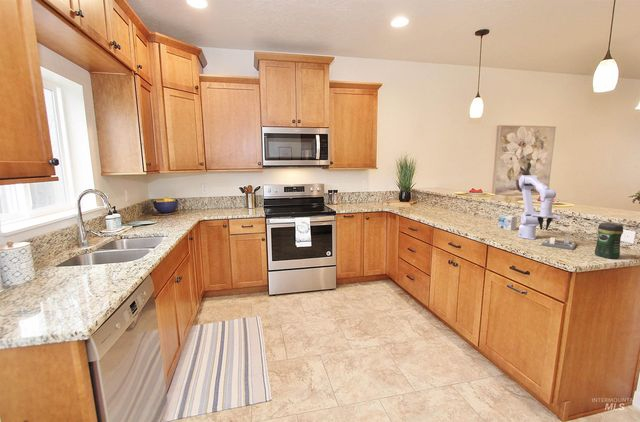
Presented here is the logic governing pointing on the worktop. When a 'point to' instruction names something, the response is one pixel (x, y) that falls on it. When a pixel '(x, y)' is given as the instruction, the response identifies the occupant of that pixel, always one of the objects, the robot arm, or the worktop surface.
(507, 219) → the light bulb box
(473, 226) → the worktop surface
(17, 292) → the worktop surface
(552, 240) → the fader cap cream
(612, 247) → the coffee jar
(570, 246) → the fader console
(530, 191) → the robot arm
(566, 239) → the cream slider knob
